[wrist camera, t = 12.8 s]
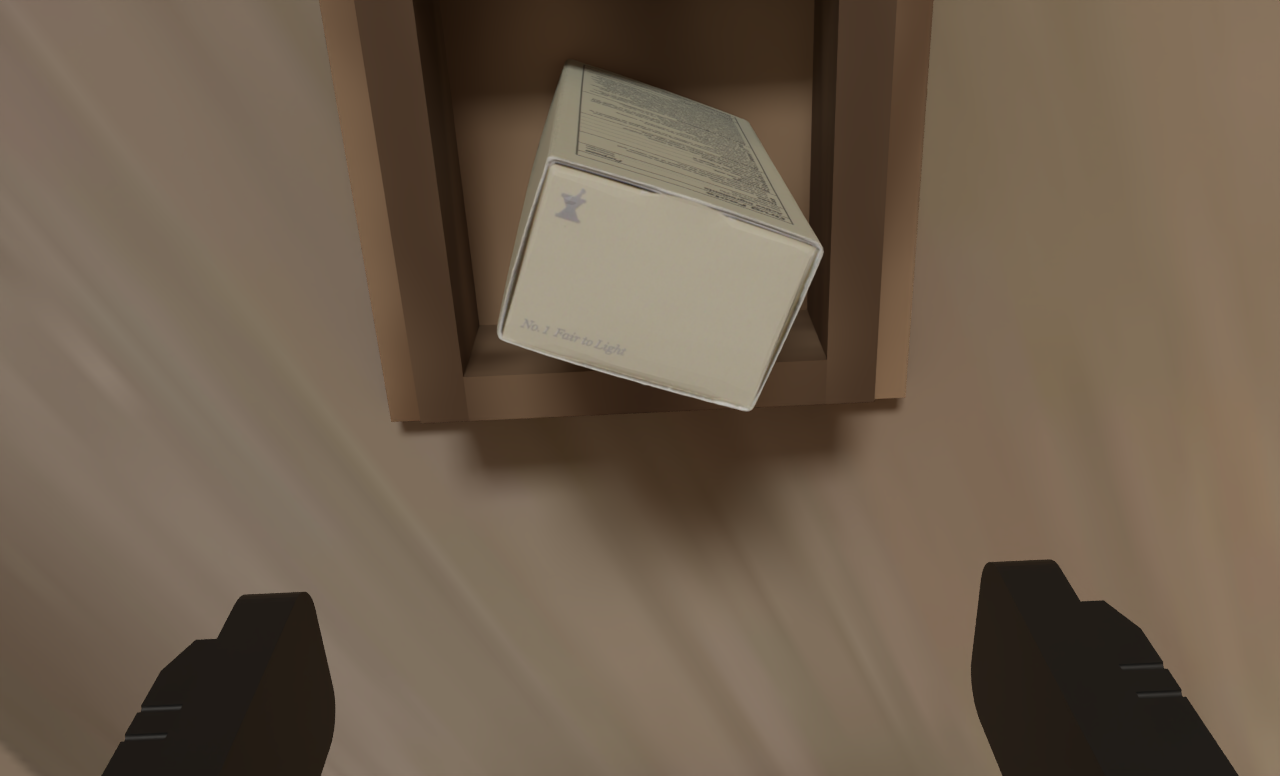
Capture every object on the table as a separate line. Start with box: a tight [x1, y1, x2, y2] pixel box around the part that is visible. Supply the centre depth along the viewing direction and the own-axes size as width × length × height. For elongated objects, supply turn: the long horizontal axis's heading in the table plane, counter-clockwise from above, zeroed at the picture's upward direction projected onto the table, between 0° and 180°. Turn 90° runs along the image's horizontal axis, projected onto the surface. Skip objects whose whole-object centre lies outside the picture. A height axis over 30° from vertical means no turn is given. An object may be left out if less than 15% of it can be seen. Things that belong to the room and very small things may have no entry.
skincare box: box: [497, 59, 824, 412], centre depth 28 cm, size 6×4×12 cm
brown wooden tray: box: [319, 0, 933, 423], centre depth 32 cm, size 18×18×5 cm
